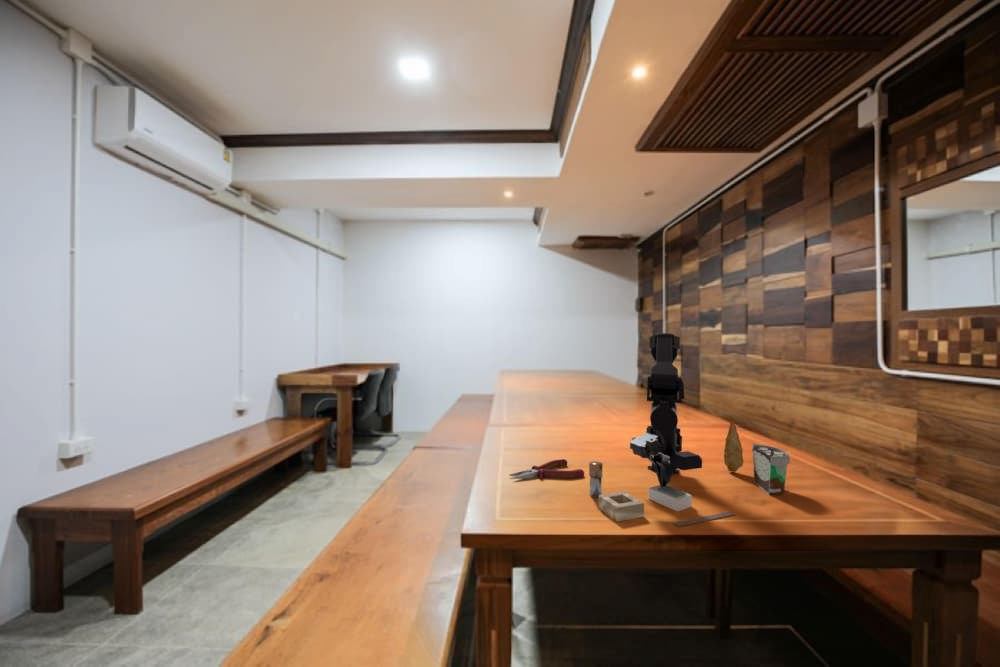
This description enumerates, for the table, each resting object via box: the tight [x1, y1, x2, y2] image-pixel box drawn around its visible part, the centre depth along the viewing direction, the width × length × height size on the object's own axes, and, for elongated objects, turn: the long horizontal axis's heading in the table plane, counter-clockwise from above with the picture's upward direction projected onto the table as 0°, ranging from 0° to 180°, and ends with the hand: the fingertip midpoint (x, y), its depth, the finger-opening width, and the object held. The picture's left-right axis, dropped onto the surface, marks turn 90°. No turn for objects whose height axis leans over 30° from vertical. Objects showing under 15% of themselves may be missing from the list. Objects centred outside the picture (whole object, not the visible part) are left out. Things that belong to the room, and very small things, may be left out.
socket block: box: [598, 491, 645, 522], centre depth 93 cm, size 7×7×3 cm
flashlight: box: [588, 460, 604, 499], centre depth 102 cm, size 3×3×8 cm
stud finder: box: [648, 484, 692, 512], centre depth 98 cm, size 8×5×4 cm, turn 32°
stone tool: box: [723, 419, 744, 473], centre depth 119 cm, size 5×2×15 cm, turn 97°
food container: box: [751, 443, 791, 496], centre depth 107 cm, size 12×6×10 cm, turn 168°
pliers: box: [509, 458, 585, 480], centre depth 117 cm, size 12×20×3 cm, turn 111°
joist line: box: [672, 511, 736, 528], centre depth 90 cm, size 2×16×1 cm, turn 111°
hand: (663, 486), depth 101 cm, fingers closed
